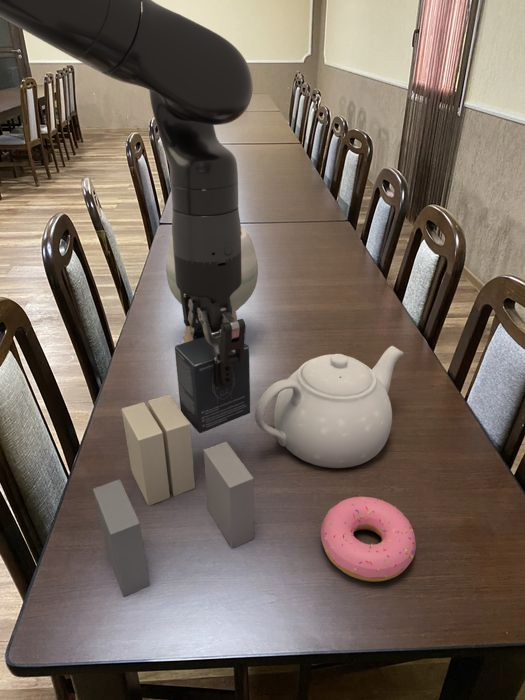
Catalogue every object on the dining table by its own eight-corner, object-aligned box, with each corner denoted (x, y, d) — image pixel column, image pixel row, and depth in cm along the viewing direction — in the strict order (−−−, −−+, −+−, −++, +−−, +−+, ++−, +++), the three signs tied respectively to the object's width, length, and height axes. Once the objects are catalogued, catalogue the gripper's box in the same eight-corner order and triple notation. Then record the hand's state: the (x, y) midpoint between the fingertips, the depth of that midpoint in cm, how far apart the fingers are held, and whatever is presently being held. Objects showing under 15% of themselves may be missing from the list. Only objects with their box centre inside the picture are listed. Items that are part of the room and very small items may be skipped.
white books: (148, 506, 69) (138, 440, 63) (131, 472, 74) (121, 408, 68) (195, 488, 72) (189, 423, 66) (176, 456, 77) (169, 394, 71)
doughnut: (315, 581, 60) (317, 556, 58) (323, 506, 69) (325, 482, 67) (416, 596, 58) (422, 572, 56) (410, 518, 67) (415, 494, 65)
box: (229, 393, 76) (228, 327, 70) (251, 414, 72) (251, 346, 66) (179, 412, 72) (173, 344, 66) (198, 435, 68) (194, 365, 62)
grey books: (123, 597, 58) (110, 534, 53) (106, 549, 63) (92, 488, 58) (254, 538, 65) (253, 478, 59) (228, 500, 70) (226, 441, 65)
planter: (158, 359, 99) (145, 242, 87) (194, 320, 112) (188, 214, 100) (240, 375, 95) (238, 255, 83) (268, 332, 108) (270, 223, 96)
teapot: (283, 390, 91) (285, 318, 84) (394, 408, 87) (406, 334, 80) (253, 464, 75) (252, 385, 68) (386, 490, 71) (400, 409, 64)
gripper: (153, 232, 63) (165, 354, 72) (202, 276, 53) (209, 412, 61) (211, 223, 67) (216, 340, 75) (268, 262, 56) (266, 393, 65)
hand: (213, 372), depth 68 cm, fingers closed on box, 5 cm apart
